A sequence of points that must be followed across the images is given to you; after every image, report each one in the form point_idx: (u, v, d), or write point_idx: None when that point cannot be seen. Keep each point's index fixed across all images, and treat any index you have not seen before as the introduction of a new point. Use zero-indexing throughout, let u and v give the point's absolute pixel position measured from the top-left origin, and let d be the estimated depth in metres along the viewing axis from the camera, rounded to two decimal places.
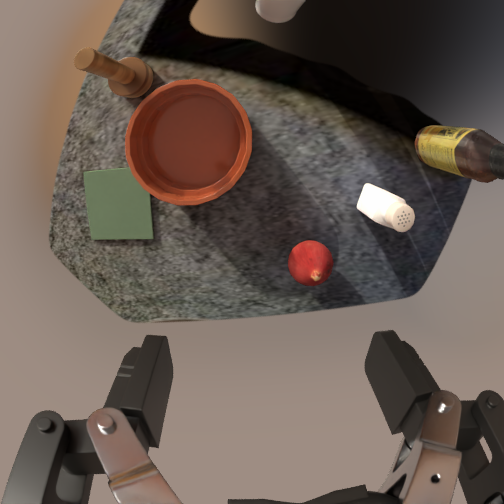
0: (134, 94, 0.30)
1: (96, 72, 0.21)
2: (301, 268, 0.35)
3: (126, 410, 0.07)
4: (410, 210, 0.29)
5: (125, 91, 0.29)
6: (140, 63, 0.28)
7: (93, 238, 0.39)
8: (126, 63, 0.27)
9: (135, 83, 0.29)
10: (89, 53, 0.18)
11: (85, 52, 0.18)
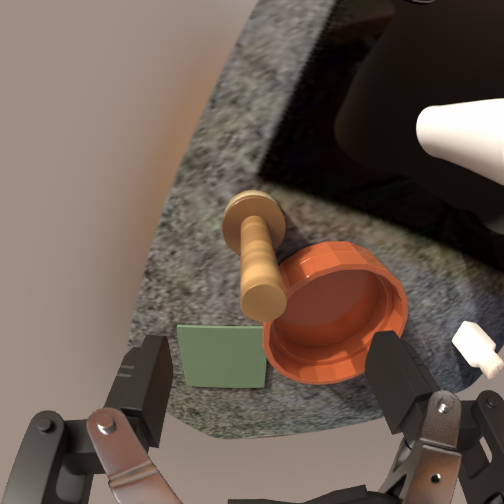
0: None
1: None
2: None
3: (126, 410, 0.07)
4: (502, 364, 0.25)
5: None
6: (276, 212, 0.23)
7: (189, 385, 0.34)
8: (253, 207, 0.23)
9: None
10: (276, 297, 0.14)
11: (266, 293, 0.14)
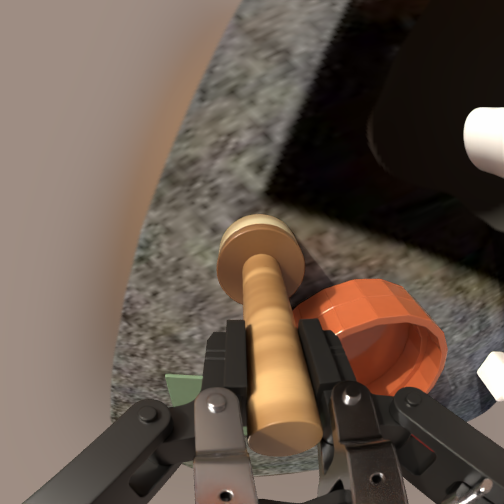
0: None
1: None
2: None
3: (230, 389, 0.08)
4: None
5: None
6: (292, 249, 0.17)
7: None
8: (260, 243, 0.16)
9: None
10: (306, 433, 0.07)
11: (291, 431, 0.07)
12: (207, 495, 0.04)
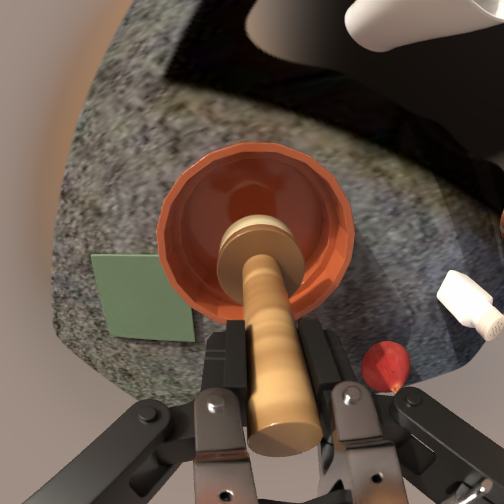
0: None
1: None
2: (381, 381, 0.26)
3: (230, 389, 0.08)
4: (503, 319, 0.20)
5: None
6: (292, 249, 0.17)
7: (113, 335, 0.30)
8: (260, 243, 0.16)
9: None
10: (307, 434, 0.07)
11: (292, 432, 0.07)
12: (207, 495, 0.04)
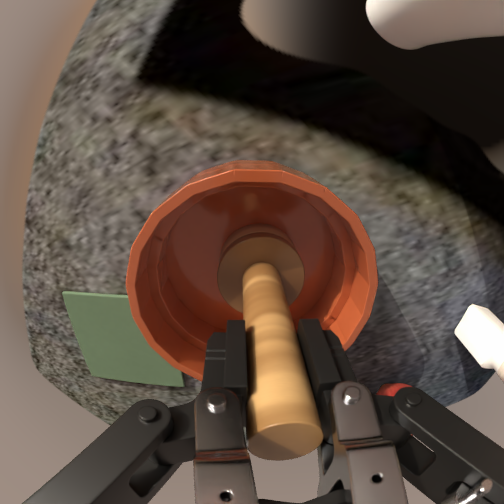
0: None
1: None
2: None
3: (230, 389, 0.08)
4: None
5: None
6: (291, 258, 0.17)
7: (94, 375, 0.25)
8: (260, 251, 0.17)
9: None
10: (307, 436, 0.07)
11: (292, 433, 0.07)
12: (207, 495, 0.04)
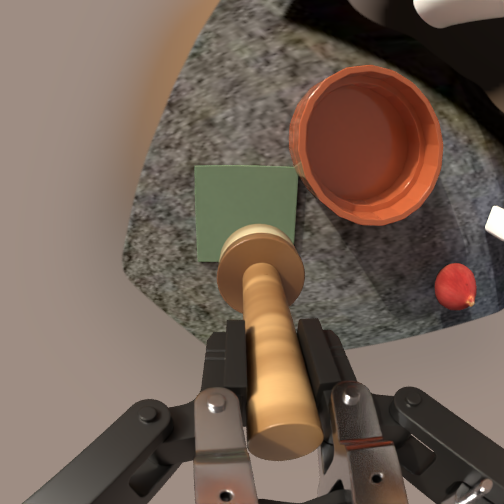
0: None
1: None
2: (457, 294, 0.27)
3: (230, 389, 0.08)
4: None
5: None
6: (292, 258, 0.17)
7: (201, 260, 0.31)
8: (260, 251, 0.17)
9: None
10: (307, 437, 0.07)
11: (292, 434, 0.07)
12: (207, 495, 0.04)
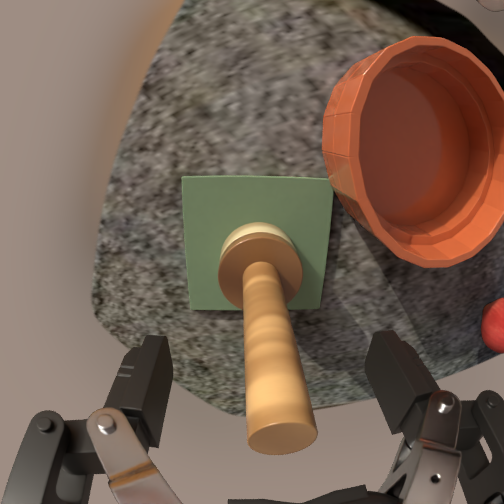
0: None
1: None
2: None
3: (126, 410, 0.07)
4: None
5: None
6: (290, 257, 0.17)
7: (194, 307, 0.22)
8: (260, 251, 0.17)
9: None
10: (302, 434, 0.08)
11: (288, 431, 0.07)
12: None
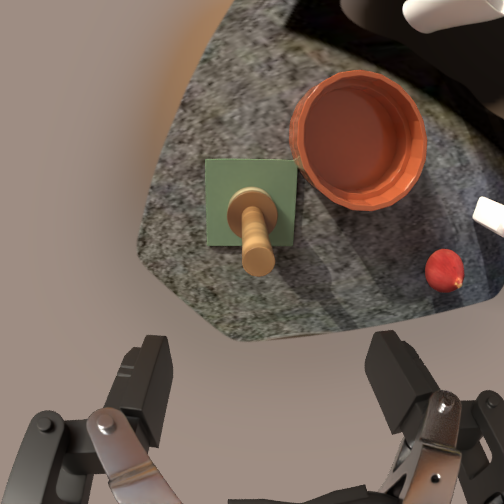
0: None
1: None
2: (446, 276, 0.31)
3: (126, 410, 0.07)
4: None
5: None
6: (269, 204, 0.29)
7: (210, 244, 0.34)
8: (251, 200, 0.29)
9: None
10: (267, 257, 0.20)
11: (260, 254, 0.20)
12: None
